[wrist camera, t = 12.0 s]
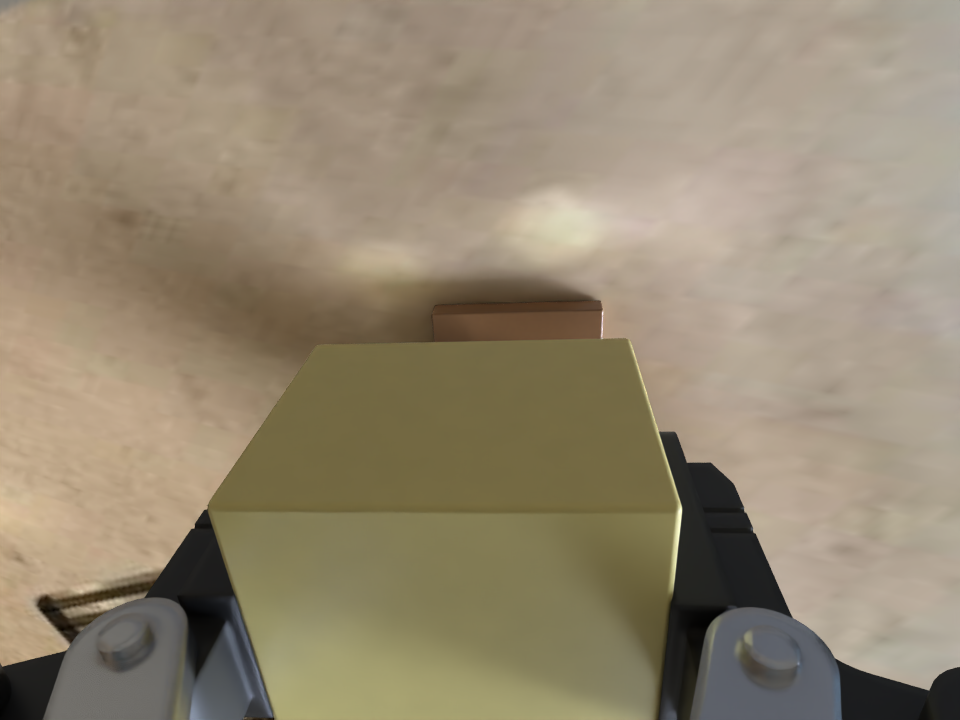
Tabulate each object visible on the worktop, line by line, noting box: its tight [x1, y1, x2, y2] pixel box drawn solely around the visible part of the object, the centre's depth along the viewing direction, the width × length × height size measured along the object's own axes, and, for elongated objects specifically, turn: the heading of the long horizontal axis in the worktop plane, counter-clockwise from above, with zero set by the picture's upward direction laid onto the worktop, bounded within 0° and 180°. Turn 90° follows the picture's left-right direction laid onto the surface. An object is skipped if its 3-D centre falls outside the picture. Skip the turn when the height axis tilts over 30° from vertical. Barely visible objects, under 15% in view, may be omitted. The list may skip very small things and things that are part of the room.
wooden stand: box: [432, 301, 603, 342], centre depth 27 cm, size 10×8×14 cm
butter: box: [208, 338, 682, 720], centre depth 9 cm, size 5×5×4 cm
